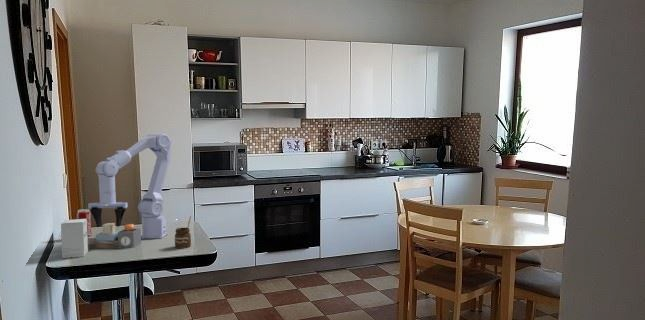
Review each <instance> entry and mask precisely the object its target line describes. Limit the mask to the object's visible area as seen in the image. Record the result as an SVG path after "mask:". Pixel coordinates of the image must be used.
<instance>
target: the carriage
mask: <svg viewBox="0 0 645 320" xmlns="http://www.w3.org/2000/svg"><path fill="white" fill-rule="evenodd" d="M119 231H120V230H116V222H109V223H104V224H102V232H100V233H97V234H96V235H95V238H96V241H114V240H116V239H118V232H119Z"/></svg>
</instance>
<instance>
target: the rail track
mask: <svg viewBox="0 0 645 320" xmlns="http://www.w3.org/2000/svg"><path fill="white" fill-rule="evenodd" d="M87 236H88V232H87ZM88 249H118V239H116V240H114V241H96V237H91V238H88Z"/></svg>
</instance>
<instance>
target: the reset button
mask: <svg viewBox="0 0 645 320" xmlns="http://www.w3.org/2000/svg"><path fill="white" fill-rule="evenodd" d="M134 228H135V224H134V223H127V224H124V225H123V229H124V231H134Z"/></svg>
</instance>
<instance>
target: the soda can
mask: <svg viewBox="0 0 645 320" xmlns="http://www.w3.org/2000/svg"><path fill="white" fill-rule="evenodd" d="M91 215H92V214H91V212H90V209H89V208H85V209H84V208H82V209H78V210H77V212H76V219H87V232H88V238H92V220H91V219H92V218H91Z"/></svg>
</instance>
